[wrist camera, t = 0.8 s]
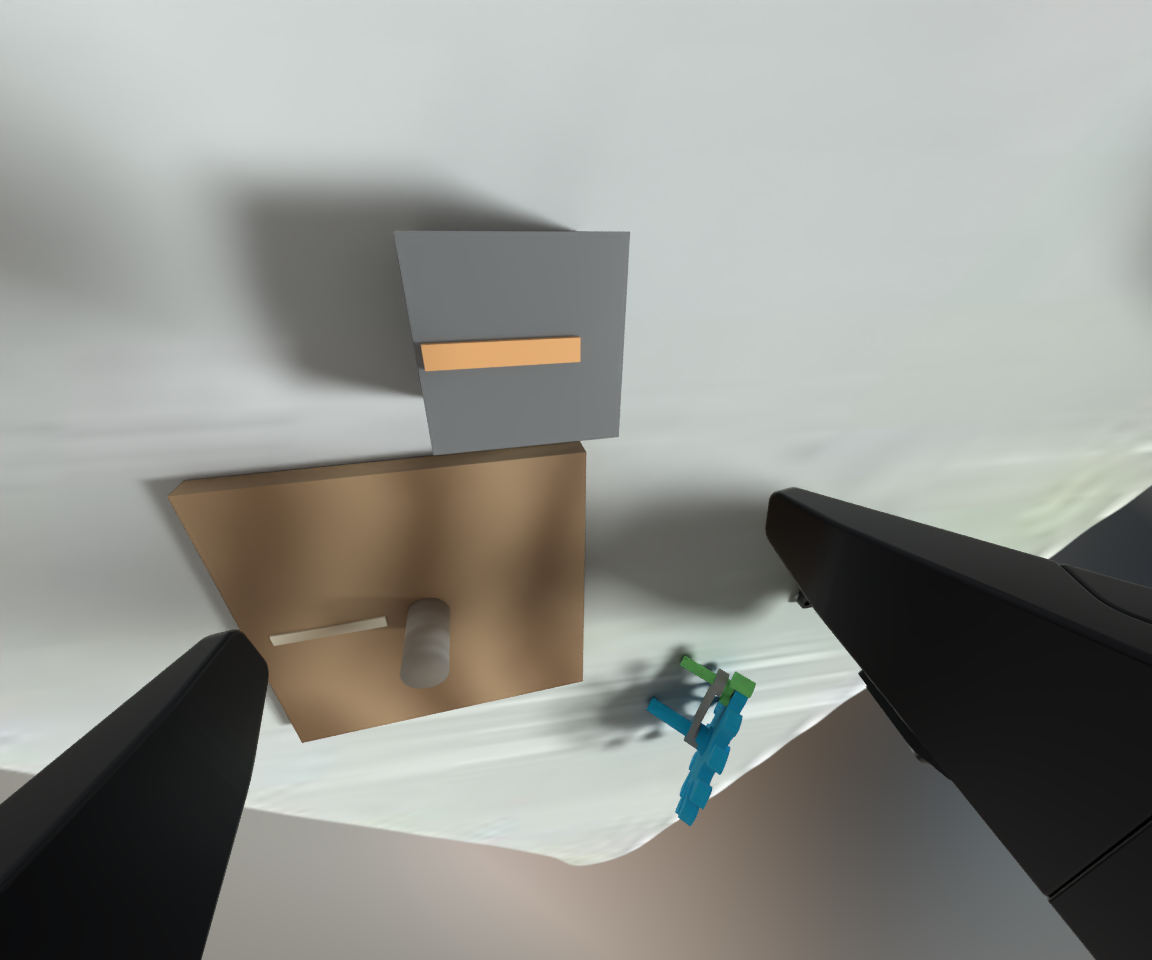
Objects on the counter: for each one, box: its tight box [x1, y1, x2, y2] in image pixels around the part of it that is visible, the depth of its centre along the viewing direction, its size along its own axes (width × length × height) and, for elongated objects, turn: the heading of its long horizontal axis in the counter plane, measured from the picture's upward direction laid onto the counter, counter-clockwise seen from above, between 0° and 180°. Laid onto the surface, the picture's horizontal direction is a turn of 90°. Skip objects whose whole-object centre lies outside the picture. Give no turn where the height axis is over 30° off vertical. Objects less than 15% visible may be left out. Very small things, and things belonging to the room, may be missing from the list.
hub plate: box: [167, 441, 586, 743], centre depth 21 cm, size 16×16×5 cm
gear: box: [647, 656, 756, 826], centre depth 31 cm, size 11×6×10 cm
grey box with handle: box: [393, 231, 630, 455], centre depth 15 cm, size 6×6×6 cm
